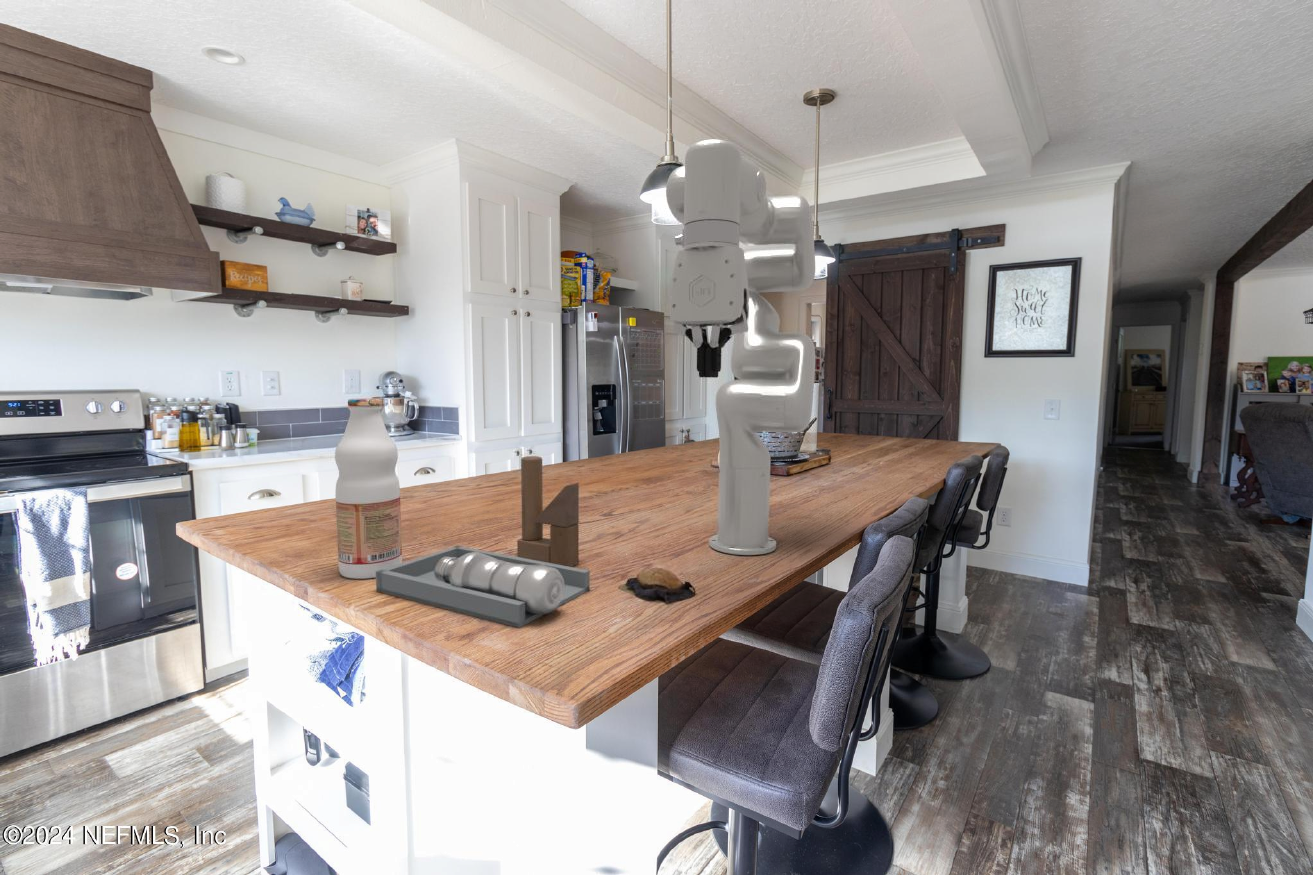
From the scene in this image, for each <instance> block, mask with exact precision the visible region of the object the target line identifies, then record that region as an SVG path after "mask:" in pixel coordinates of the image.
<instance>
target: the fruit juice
mask: <svg viewBox="0 0 1313 875" xmlns="http://www.w3.org/2000/svg"><path fill="white" fill-rule="evenodd" d="M382 406H383V402H382V399H381V398H349V399H348V400H347V409H348V410H349V412H350V413H349V417H348V420H347V424H346V427H345V430H344V433H343V435H342V437H341V440H340V441H339V443H338V445H337V446H336V448H335V452H334V454H335V455H334V460H335V465H336V467H337V470H338V478H337V480H336V482H335V508H336V509H335V513H336V514H335V515H336V534H337V535H336V537H337V557H338V559H337V560H338V571H339V574H340V575H341V576H342V577H344V578H347V579H352V580H353V579H355V580H357V579H358V580H361V579H362V580H365V579H372V578H375V579H376V571H379V570H382V569H385V568H389V567H392V566H395V565H398V564H401V563H403V550H402V549H403V548H402V547H403V545H402V520H401V519H402V515H401V514H402V512H401V488H400V482H399V481H400V480H399V478H398V475H397V473H396V467H397V462H398V459H399V453H398V448H397V445H396V443H395V442H394V440H393V439H392V438H391V436H390V435H389V432H388V430H387V428H386V425H385V422H384V420H383V417H382V414H381V410H382V409H383V408H382Z"/></svg>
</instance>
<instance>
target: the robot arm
mask: <svg viewBox="0 0 1313 875" xmlns="http://www.w3.org/2000/svg"><path fill="white" fill-rule="evenodd" d="M665 188H666V189H665V191H666V192H665V196H666V202H667V204H668V208H669V211H670V213H671V214H672V215H673V217H674V218H675V219H676V220H677V221H678V222H679V223H681V225H683V228H682V233H681V234H680V235H675V236H674V237H675V238H674V242H675V245H676V246H681V247H682V248H683V249H682V250H678V251H677V253H676V258H675V261H674V262H675V263H674V267H673V274H672V281H671V289H670V290H671V291H670V299H669V317H670V318H669V319H670V321H671V322H672V323H673V328H672V332H673V334H676V335H680V336H682V337H683V336H684V337H686V338H688V339H689V341H690V342H691V343H692V344H693V347H694V348H696V371H697V372H698V377H699V378H710V379H711V378H714V379H715V378H718V377H719V372H721V370H722V349H723V348H725V345H726V344H727V343H728V341H730V340H731V339H732V338H733V343H732V349H731V356H730V367H731V372H732V374H733V376H734V377H735V378H736V379H734V380H730V381H727V382H725V383H723V384H721V386H720V387H719V388H718V390H717V392H716V395H715V412H716V418H717V424H718V425H717V426H718V438H719V442H718V443H719V458H718V462H719V463H718V465H719V466H718V468H719V469H718V503H717V504H718V506H717V508H718V510H717V513H718V514H717V519H718V520H717V534H714V535H712V536H711V537H710V538H709V540H708V541H709V546H710V548H712V549H713V550H716V551H718V552H721V553H724V554H729V555H739V556H740V555H741V556H757V555H764V554H765V555H766V554H769V553H773V551H775V550H776V549H777V541H776V540H775V539H774V538H772V537H770V536H769V525H770V521H769V520H770V518H769V517H770V488H771V485H770V484H771V482H770V481H771V454H770V451H769V449H768V446H766V444H765V443H764V441H763V440H762V438H760V436H759V435H758V433H764V432H765V433H766V432H769V433H800V432H802V431H805V430H807V428H808V427H809V425H810V422H811V419H812V413H813V402H814V401H813V400H814V388H815V386H814V385H815V376H816V375H815V374H816V349H815V344H814V342H813V339H812V338H811V337H810V336H809V335H808V334H805V333H801V332H780V323H781V320H780V316H779V314H778V312H777V310H776V309H775V308H774V307H773V305H772V304H771V303H770V302H769V301H768V300H767V299H765V297H763V296H762V295H761V294H760V293H770V292H771V293H773V292H774V293H775V292H777V293H778V292H801V291H805V290H807V289H808V288H810V287H811V286H812V284H813V283H814V279H815V276H816V252H815V238H814V236H815V234H814V233H815V232H814V221H813V214H812V210H811V206H810V204H809V202H808V200H807V199H806V197H804V196H803V195H799V194H793V195H792V194H789V195H777V196H776V195H775V196H767V195H766V192H767V183H766V178H765V174H764V173H763V171H761V169H760V167H759V166H758V165H757V164H756V163H755V162H754V161H753V160H751V159H749V158H747V157H745V156H743V155H742V154H741V150H740V148H739V146H737V145H736V143H735V144H734V143H733V142H731V141H728V140H724V139H713V138H712V139H704V140H701V141H697V142H695V143H692V144H691V145H690V147H689V148H688V149H687V150H686V153H685V157H684V165H681V166H679V167H677V168H675V169H674V170H672V172H671V173H670V175H669V177H668V179H667V181H666V187H665ZM740 243H741V244H743V245H745V246H748V247H760V248H750V249H743V248H741V247H740ZM778 245H792V246H780V247H764V246H778ZM761 246H763V247H761ZM708 327H711V330H710V337H709V330H708Z"/></svg>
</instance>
